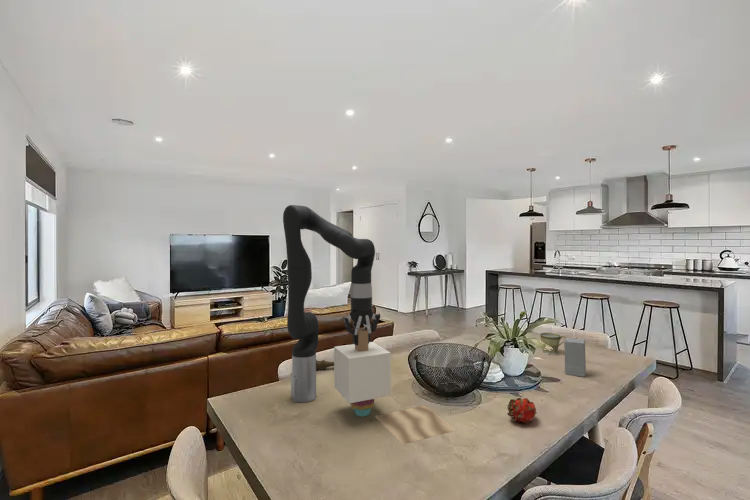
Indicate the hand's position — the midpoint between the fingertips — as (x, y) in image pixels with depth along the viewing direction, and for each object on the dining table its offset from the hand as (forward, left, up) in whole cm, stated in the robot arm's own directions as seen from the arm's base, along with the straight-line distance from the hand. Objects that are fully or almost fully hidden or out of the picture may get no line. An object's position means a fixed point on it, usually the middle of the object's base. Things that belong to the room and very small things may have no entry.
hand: (361, 344), depth 133 cm
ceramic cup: (+122, +23, -25) cm, 127 cm away
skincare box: (+104, -4, -25) cm, 107 cm away
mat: (+13, -14, -25) cm, 32 cm away
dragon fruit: (+48, -27, -25) cm, 61 cm away
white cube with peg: (0, 0, -17) cm, 17 cm away
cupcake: (0, 0, -25) cm, 25 cm away
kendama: (+6, +49, -26) cm, 56 cm away
